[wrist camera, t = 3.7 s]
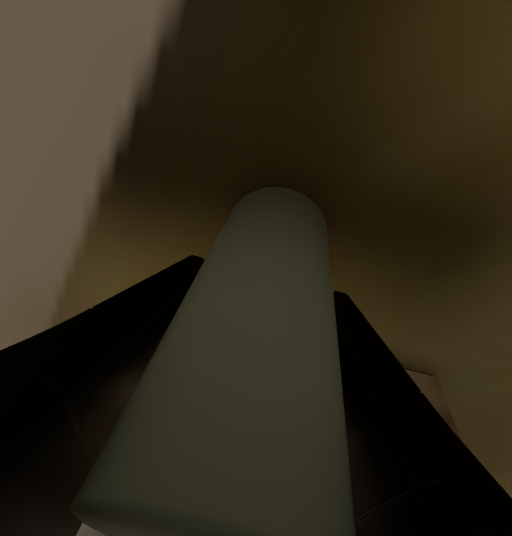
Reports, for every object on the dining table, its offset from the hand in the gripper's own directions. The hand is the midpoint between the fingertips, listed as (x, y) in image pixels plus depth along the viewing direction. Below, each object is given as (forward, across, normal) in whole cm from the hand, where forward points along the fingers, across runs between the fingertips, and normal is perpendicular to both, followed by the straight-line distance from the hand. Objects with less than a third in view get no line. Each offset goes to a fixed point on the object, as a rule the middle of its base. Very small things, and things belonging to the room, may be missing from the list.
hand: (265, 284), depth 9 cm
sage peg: (+3, 0, 0) cm, 3 cm away
